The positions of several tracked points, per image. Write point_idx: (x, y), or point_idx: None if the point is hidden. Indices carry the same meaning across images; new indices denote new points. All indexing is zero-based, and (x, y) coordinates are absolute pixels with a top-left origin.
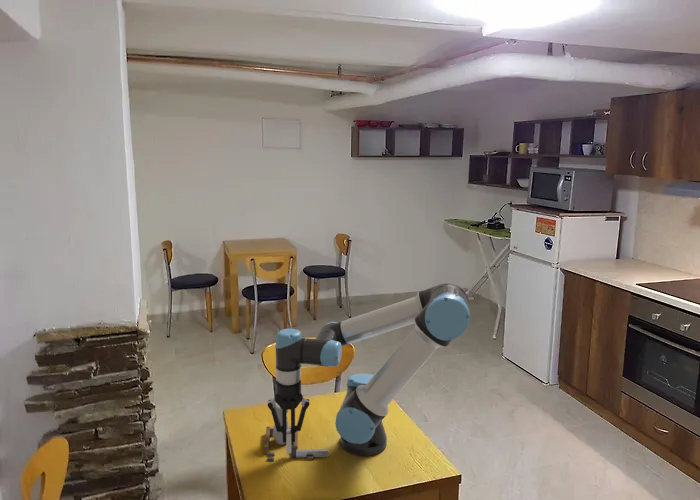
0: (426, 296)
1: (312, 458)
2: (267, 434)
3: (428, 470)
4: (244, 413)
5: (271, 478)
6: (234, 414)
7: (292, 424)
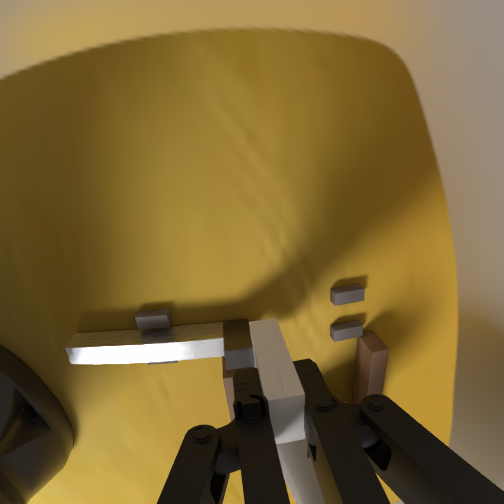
0: None
1: (138, 314)
2: None
3: None
4: None
5: (326, 144)
6: None
7: (266, 469)
